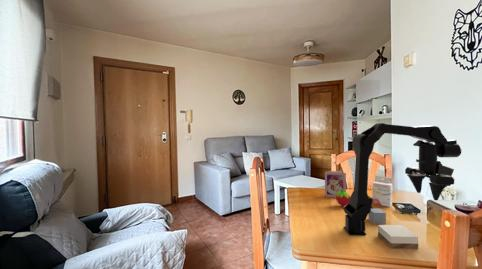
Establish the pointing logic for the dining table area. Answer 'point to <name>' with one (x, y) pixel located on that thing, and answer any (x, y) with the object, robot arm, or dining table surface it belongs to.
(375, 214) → the slate cube
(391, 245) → the tower bottom
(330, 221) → the dining table surface
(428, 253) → the dining table surface
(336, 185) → the pink snowman box
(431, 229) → the dining table surface
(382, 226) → the tower top
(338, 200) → the strawberry
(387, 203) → the ink cartridge box
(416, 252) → the dining table surface
